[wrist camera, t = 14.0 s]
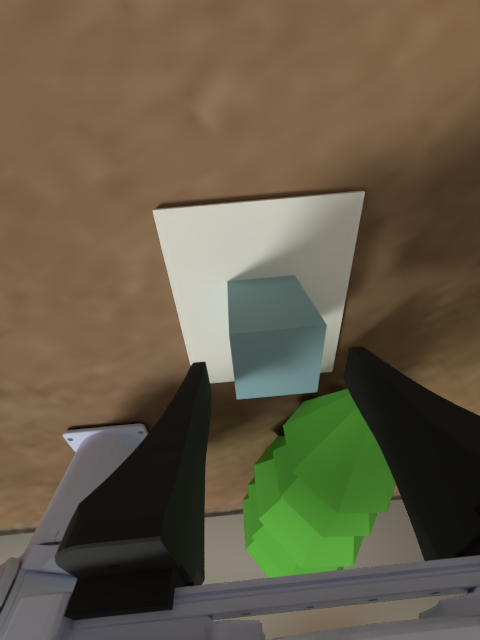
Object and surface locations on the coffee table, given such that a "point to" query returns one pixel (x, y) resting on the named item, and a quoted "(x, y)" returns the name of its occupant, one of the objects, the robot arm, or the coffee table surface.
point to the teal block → (274, 337)
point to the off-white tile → (256, 262)
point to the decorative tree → (316, 490)
